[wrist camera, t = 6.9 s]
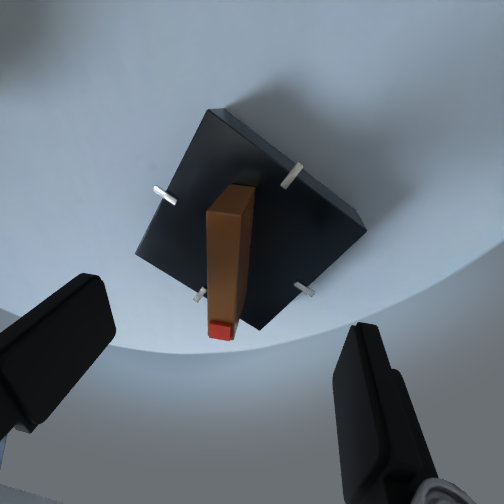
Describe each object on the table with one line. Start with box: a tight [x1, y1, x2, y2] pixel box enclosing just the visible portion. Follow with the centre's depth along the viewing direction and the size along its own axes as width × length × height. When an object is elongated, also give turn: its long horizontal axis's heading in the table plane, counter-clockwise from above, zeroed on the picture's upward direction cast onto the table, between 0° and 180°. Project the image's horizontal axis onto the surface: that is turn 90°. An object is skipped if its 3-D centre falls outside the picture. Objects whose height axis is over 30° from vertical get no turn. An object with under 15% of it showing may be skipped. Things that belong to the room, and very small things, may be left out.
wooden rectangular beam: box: [206, 184, 255, 341], centre depth 13 cm, size 7×1×4 cm, turn 176°
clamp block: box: [135, 108, 367, 330], centre depth 16 cm, size 11×11×3 cm
